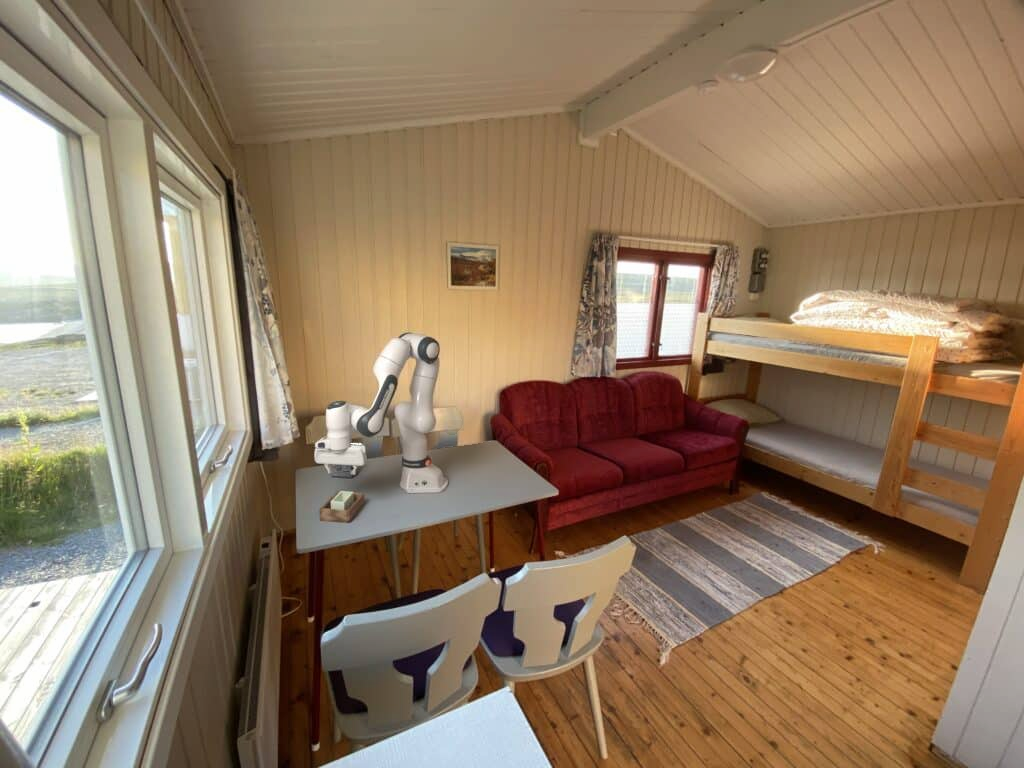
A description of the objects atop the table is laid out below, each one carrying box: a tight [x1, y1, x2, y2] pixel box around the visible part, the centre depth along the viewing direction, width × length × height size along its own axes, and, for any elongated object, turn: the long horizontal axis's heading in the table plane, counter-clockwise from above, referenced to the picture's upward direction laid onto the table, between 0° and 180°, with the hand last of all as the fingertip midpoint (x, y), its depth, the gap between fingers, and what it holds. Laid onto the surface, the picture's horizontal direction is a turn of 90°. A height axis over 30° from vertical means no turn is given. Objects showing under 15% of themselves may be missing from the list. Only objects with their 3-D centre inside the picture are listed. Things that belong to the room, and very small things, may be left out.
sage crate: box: [331, 490, 355, 510], centre depth 176 cm, size 6×9×6 cm, turn 176°
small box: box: [330, 464, 358, 479], centre depth 208 cm, size 11×6×10 cm, turn 84°
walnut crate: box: [318, 491, 365, 524], centre depth 176 cm, size 12×15×5 cm
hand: (342, 473), depth 173 cm, fingers open, 8 cm apart
